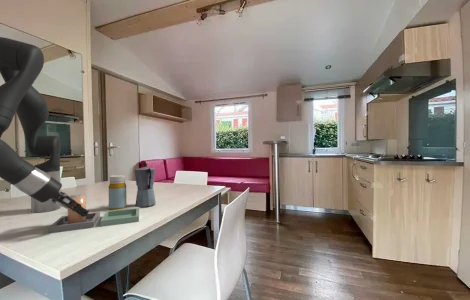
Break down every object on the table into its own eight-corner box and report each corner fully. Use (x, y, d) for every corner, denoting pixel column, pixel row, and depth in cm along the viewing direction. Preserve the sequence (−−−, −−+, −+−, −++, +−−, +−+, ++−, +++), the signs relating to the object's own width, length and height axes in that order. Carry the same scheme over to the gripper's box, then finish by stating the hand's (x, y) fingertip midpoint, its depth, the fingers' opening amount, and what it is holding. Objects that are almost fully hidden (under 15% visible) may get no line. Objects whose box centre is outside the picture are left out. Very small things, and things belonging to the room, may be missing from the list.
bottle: (118, 211, 92) (118, 177, 92) (105, 210, 94) (104, 176, 94) (129, 207, 99) (129, 175, 99) (116, 206, 101) (116, 174, 101)
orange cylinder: (65, 227, 72) (65, 198, 72) (70, 222, 77) (70, 194, 77) (84, 225, 74) (83, 196, 74) (87, 220, 79) (87, 193, 79)
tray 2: (100, 228, 73) (100, 220, 73) (105, 217, 84) (105, 211, 84) (138, 223, 78) (138, 216, 78) (139, 213, 89) (139, 207, 89)
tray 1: (49, 235, 68) (49, 227, 68) (62, 222, 79) (62, 216, 79) (93, 229, 73) (93, 221, 73) (100, 218, 84) (100, 212, 84)
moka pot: (150, 200, 111) (149, 162, 111) (162, 206, 100) (162, 164, 100) (130, 204, 105) (130, 163, 105) (141, 210, 93) (141, 165, 93)
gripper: (56, 177, 65) (99, 206, 75) (42, 173, 74) (83, 201, 83) (33, 197, 61) (82, 226, 71) (21, 191, 69) (66, 218, 79)
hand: (82, 212), depth 77 cm, fingers open, 6 cm apart
